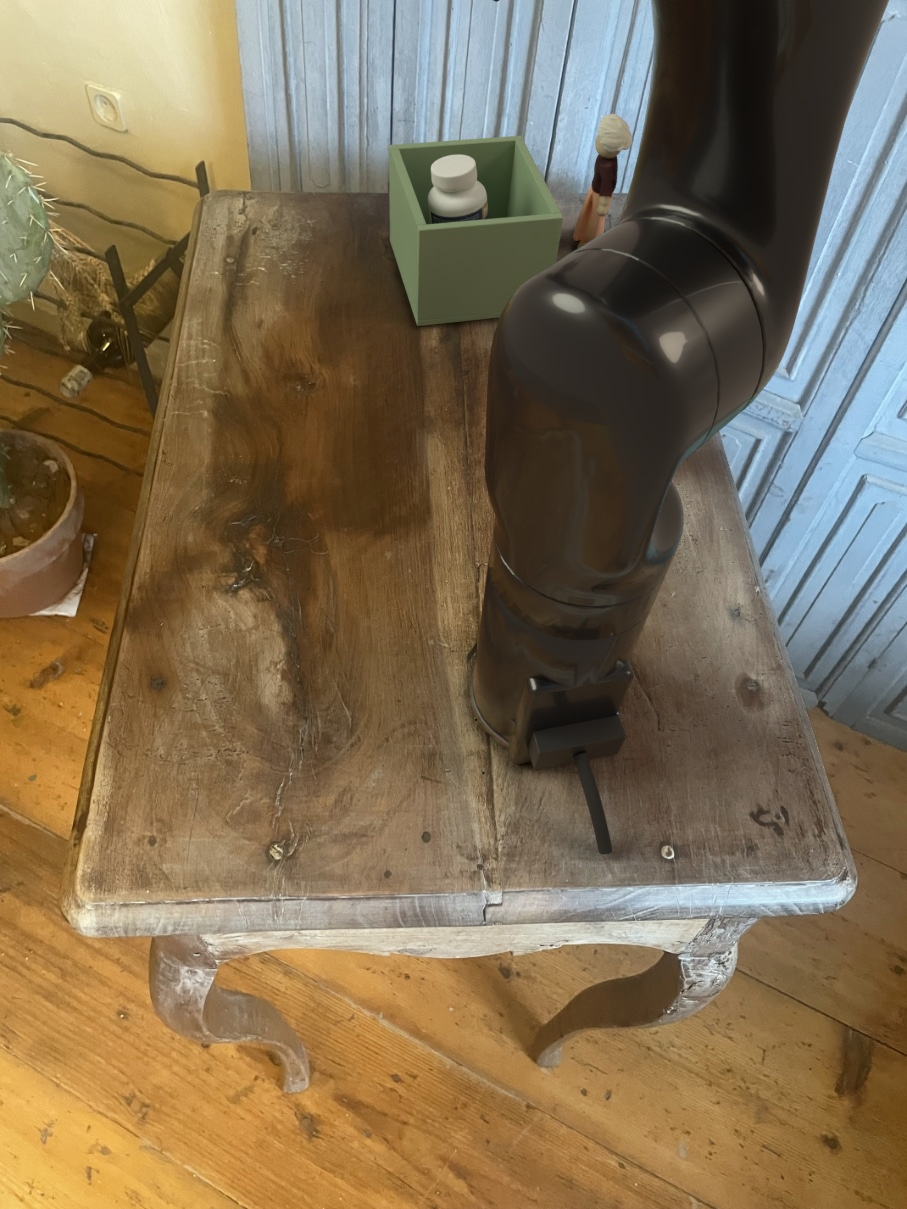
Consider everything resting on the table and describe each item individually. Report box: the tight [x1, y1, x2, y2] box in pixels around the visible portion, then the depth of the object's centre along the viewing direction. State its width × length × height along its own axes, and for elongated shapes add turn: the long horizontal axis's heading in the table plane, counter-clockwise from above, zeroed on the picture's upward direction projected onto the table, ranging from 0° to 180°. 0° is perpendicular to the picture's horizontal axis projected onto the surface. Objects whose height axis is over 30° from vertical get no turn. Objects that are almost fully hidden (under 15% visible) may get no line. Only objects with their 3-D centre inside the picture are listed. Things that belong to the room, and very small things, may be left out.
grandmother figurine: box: [572, 113, 633, 250], centre depth 83 cm, size 8×4×13 cm, turn 3°
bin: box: [388, 135, 564, 327], centre depth 80 cm, size 14×13×10 cm
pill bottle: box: [428, 155, 489, 224], centre depth 80 cm, size 5×5×10 cm
